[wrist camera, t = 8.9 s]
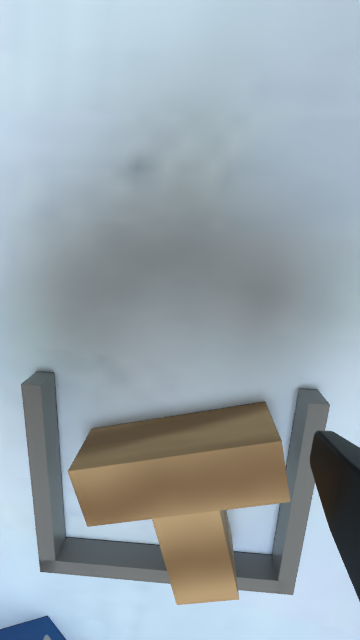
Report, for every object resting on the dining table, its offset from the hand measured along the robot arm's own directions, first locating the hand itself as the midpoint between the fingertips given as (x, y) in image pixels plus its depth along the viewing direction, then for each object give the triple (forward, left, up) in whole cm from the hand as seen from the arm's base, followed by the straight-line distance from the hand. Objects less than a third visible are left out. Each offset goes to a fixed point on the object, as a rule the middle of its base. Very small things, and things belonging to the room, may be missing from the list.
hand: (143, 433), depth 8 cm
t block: (+12, +2, -11) cm, 16 cm away
